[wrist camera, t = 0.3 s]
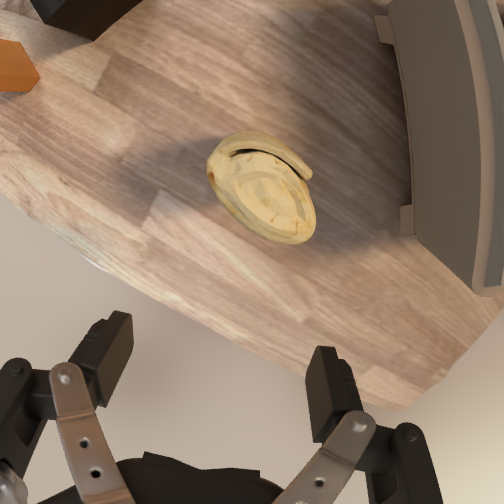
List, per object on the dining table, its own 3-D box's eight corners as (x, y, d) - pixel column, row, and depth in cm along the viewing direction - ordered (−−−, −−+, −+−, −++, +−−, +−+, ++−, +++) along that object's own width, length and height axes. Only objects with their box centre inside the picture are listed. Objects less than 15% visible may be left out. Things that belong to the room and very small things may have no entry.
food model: (216, 155, 37) (173, 186, 19) (252, 115, 35) (243, 104, 17) (274, 205, 40) (286, 280, 21) (310, 168, 38) (357, 211, 19)
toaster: (473, 12, 25) (560, -14, 7) (494, 220, 39) (577, 275, 20) (366, -7, 27) (436, -77, 8) (399, 235, 41) (478, 314, 22)
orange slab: (20, 42, 29) (-21, 36, 20) (40, 77, 32) (-3, 74, 23) (9, 55, 30) (-31, 52, 20) (29, 91, 33) (-14, 92, 23)
